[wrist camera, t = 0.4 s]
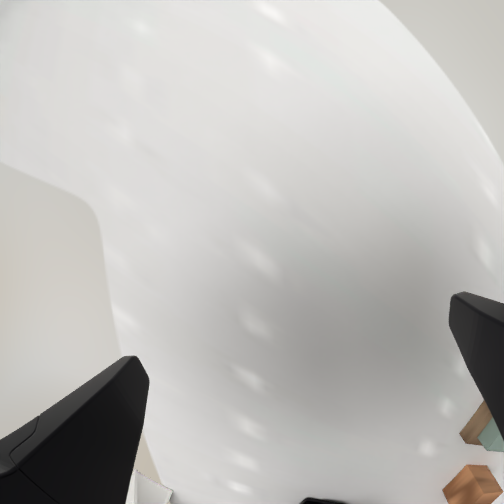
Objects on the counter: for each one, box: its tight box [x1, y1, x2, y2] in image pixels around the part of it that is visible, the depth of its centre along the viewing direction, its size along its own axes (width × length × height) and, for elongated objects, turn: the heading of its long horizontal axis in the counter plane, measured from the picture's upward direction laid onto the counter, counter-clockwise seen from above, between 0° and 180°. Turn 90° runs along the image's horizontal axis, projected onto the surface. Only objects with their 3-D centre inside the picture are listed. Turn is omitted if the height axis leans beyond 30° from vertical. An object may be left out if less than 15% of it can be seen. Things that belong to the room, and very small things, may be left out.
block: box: [443, 465, 503, 504], centre depth 22 cm, size 5×5×6 cm
